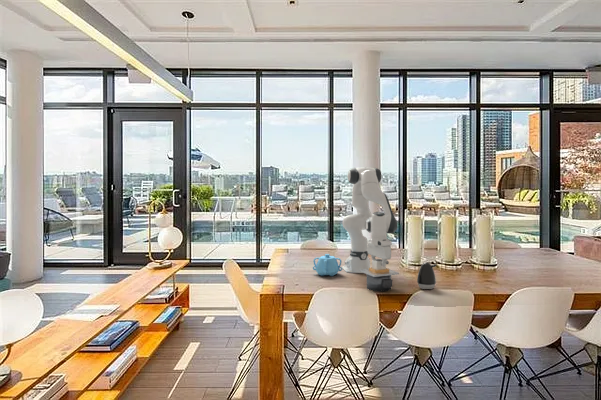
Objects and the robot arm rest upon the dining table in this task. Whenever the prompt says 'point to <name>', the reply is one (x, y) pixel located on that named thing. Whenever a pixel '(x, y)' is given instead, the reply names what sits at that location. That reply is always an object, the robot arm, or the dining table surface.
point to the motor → (379, 280)
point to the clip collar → (379, 270)
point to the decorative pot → (327, 265)
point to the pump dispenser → (426, 276)
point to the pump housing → (378, 264)
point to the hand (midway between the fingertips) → (378, 264)
